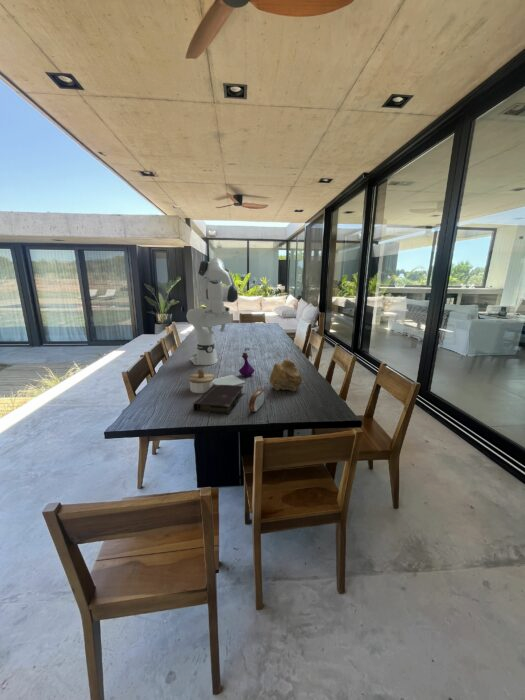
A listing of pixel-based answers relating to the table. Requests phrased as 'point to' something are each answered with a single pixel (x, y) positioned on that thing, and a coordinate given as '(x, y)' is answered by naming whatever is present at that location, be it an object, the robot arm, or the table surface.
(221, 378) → the trivet
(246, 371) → the perfume bottle
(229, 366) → the table surface
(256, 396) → the tin
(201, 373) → the lid
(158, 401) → the table surface
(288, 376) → the rough brown rock
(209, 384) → the bowl
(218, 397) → the diary
